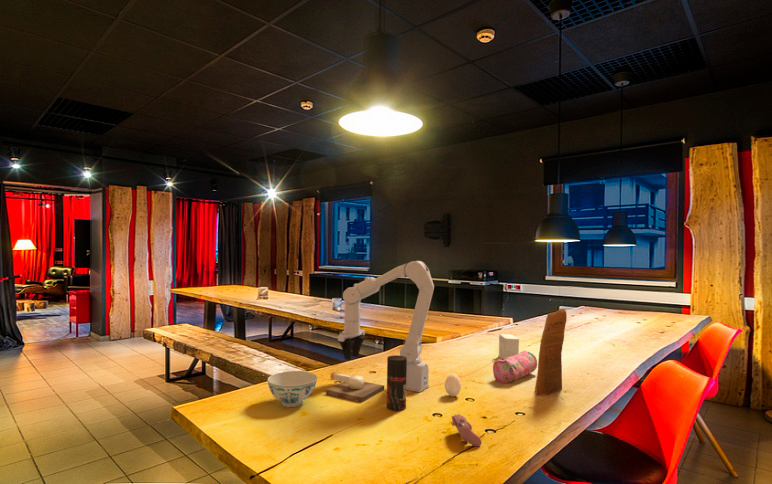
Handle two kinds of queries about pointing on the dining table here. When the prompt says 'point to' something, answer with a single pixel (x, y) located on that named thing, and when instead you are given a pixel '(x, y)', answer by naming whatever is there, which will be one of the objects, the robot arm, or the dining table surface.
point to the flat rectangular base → (355, 391)
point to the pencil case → (514, 367)
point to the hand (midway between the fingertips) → (351, 357)
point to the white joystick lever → (349, 380)
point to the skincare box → (508, 345)
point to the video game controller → (465, 430)
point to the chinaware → (292, 387)
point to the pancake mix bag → (551, 354)
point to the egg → (453, 385)
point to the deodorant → (396, 382)
